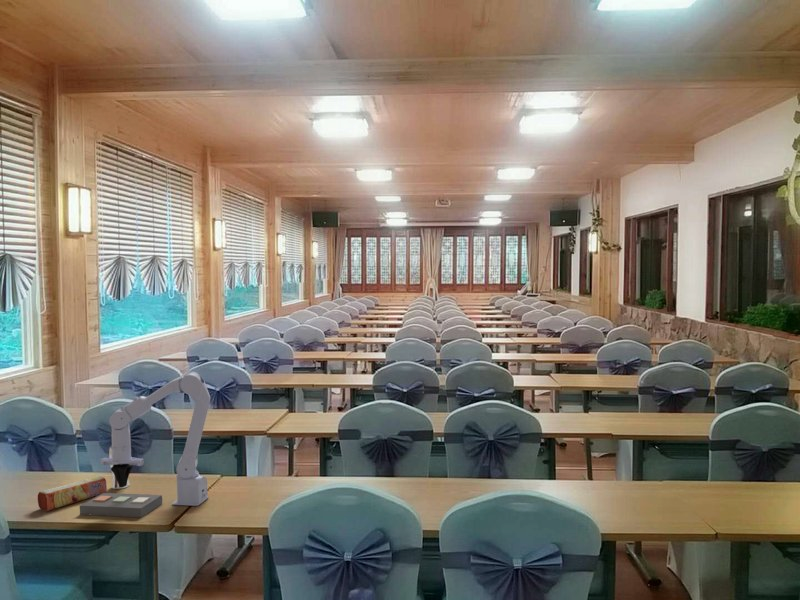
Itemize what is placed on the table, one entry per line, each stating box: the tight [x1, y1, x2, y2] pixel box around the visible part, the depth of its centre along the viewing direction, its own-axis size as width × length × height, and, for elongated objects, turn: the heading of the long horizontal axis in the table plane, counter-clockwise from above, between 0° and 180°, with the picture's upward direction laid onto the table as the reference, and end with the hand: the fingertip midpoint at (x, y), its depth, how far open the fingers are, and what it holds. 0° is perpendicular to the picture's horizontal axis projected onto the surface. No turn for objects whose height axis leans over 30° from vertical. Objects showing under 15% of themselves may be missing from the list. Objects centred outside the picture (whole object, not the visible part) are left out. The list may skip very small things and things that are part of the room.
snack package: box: [37, 475, 107, 512], centre depth 208 cm, size 21×7×7 cm, turn 146°
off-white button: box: [132, 497, 150, 504], centre depth 198 cm, size 4×4×3 cm
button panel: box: [79, 492, 163, 518], centre depth 199 cm, size 22×12×3 cm, turn 80°
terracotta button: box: [93, 496, 112, 502], centre depth 200 cm, size 4×4×3 cm
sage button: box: [112, 496, 131, 503], centre depth 199 cm, size 4×4×3 cm
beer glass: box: [108, 445, 131, 490], centre depth 222 cm, size 7×7×15 cm
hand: (122, 486), depth 199 cm, fingers closed
